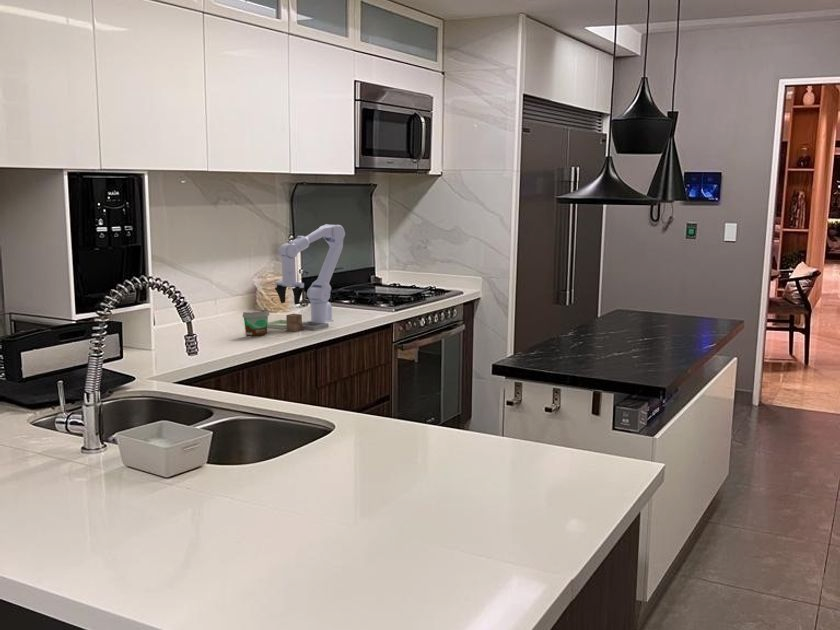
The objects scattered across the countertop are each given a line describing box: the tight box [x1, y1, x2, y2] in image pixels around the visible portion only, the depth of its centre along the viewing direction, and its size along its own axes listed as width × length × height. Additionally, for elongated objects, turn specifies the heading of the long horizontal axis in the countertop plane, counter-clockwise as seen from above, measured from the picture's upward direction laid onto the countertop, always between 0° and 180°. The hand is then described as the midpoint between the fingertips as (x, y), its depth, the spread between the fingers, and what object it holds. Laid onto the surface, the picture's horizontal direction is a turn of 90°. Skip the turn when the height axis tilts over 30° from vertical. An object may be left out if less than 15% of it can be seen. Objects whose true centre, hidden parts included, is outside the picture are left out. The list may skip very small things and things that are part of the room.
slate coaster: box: [284, 329, 304, 333], centre depth 346 cm, size 6×6×1 cm
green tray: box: [267, 318, 287, 330], centre depth 357 cm, size 12×12×2 cm
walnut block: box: [285, 313, 303, 332], centre depth 345 cm, size 4×4×6 cm
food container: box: [242, 308, 270, 338], centre depth 337 cm, size 12×6×10 cm, turn 143°
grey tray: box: [302, 321, 329, 332], centre depth 352 cm, size 10×10×2 cm
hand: (289, 303), depth 358 cm, fingers open, 7 cm apart
